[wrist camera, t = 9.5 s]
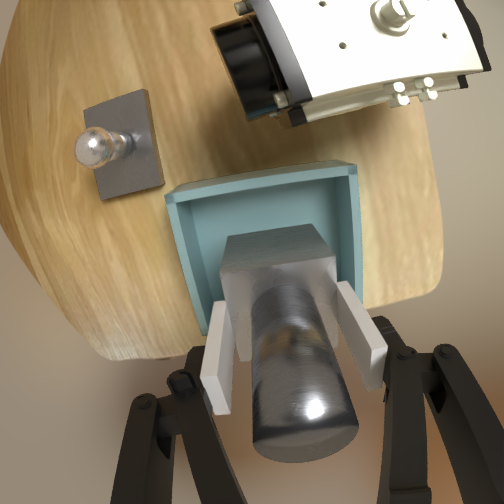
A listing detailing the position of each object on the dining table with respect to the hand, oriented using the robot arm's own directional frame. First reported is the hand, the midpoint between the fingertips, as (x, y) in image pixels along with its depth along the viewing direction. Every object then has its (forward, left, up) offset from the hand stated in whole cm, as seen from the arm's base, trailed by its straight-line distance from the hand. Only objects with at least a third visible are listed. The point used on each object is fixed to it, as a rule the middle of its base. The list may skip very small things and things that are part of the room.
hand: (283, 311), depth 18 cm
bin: (0, 0, -14) cm, 14 cm away
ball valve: (-16, +8, -15) cm, 23 cm away
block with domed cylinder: (0, 0, -7) cm, 7 cm away
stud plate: (-13, -13, -14) cm, 23 cm away
